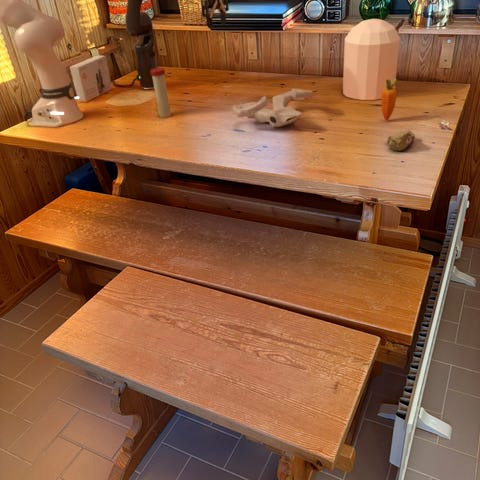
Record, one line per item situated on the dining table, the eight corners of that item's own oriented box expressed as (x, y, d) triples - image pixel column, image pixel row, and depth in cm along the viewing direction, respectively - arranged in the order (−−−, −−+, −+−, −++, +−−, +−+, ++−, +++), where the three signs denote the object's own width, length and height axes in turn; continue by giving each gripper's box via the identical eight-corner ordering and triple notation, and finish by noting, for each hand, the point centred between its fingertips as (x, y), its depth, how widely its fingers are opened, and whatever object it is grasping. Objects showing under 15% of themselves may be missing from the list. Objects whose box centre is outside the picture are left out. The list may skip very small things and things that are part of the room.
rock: (408, 140, 153) (379, 139, 152) (414, 122, 149) (384, 120, 148) (421, 154, 144) (391, 153, 143) (428, 135, 140) (396, 133, 139)
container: (363, 103, 182) (369, 26, 166) (332, 90, 198) (334, 19, 182) (405, 92, 188) (414, 17, 172) (372, 81, 205) (377, 11, 189)
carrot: (394, 118, 167) (398, 76, 158) (393, 123, 163) (397, 80, 154) (379, 117, 168) (383, 75, 160) (378, 122, 165) (382, 80, 156)
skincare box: (87, 102, 214) (77, 67, 204) (78, 102, 215) (68, 66, 206) (113, 88, 229) (105, 54, 220) (104, 88, 231) (96, 54, 222)
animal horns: (230, 133, 167) (227, 101, 161) (244, 110, 188) (241, 81, 182) (308, 133, 161) (308, 99, 155) (313, 109, 182) (314, 78, 176)
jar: (163, 113, 193) (155, 69, 183) (173, 113, 191) (165, 69, 181) (157, 117, 190) (149, 72, 179) (167, 117, 188) (159, 72, 178)
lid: (155, 71, 184) (154, 67, 183) (167, 72, 182) (166, 67, 181) (148, 75, 180) (147, 71, 179) (160, 76, 178) (159, 71, 177)
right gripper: (216, -23, 183) (220, 22, 193) (193, -17, 174) (198, 29, 184) (231, -23, 180) (235, 22, 189) (208, -18, 170) (213, 30, 180)
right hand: (217, 25), depth 186 cm, fingers open, 8 cm apart
